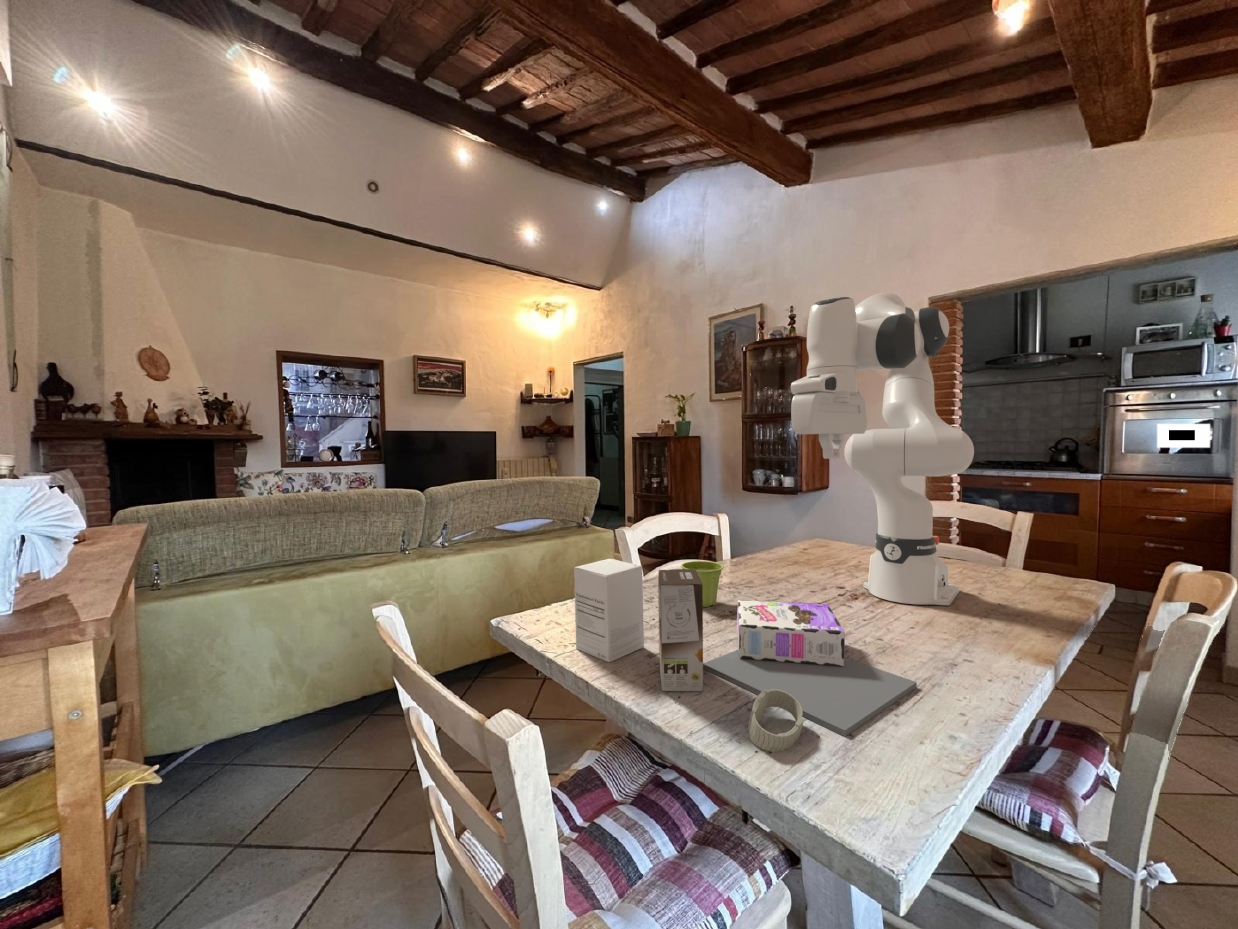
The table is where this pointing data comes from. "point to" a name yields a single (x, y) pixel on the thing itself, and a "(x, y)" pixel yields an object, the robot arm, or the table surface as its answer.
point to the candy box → (789, 632)
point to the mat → (819, 687)
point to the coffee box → (680, 630)
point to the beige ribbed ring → (766, 738)
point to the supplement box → (609, 608)
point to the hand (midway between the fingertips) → (831, 458)
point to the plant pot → (707, 578)
